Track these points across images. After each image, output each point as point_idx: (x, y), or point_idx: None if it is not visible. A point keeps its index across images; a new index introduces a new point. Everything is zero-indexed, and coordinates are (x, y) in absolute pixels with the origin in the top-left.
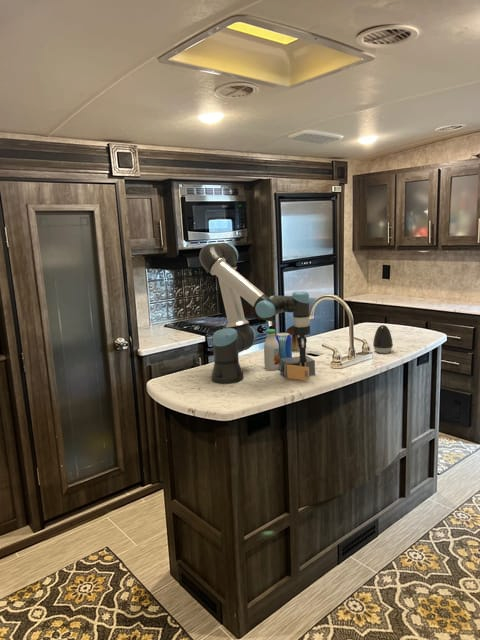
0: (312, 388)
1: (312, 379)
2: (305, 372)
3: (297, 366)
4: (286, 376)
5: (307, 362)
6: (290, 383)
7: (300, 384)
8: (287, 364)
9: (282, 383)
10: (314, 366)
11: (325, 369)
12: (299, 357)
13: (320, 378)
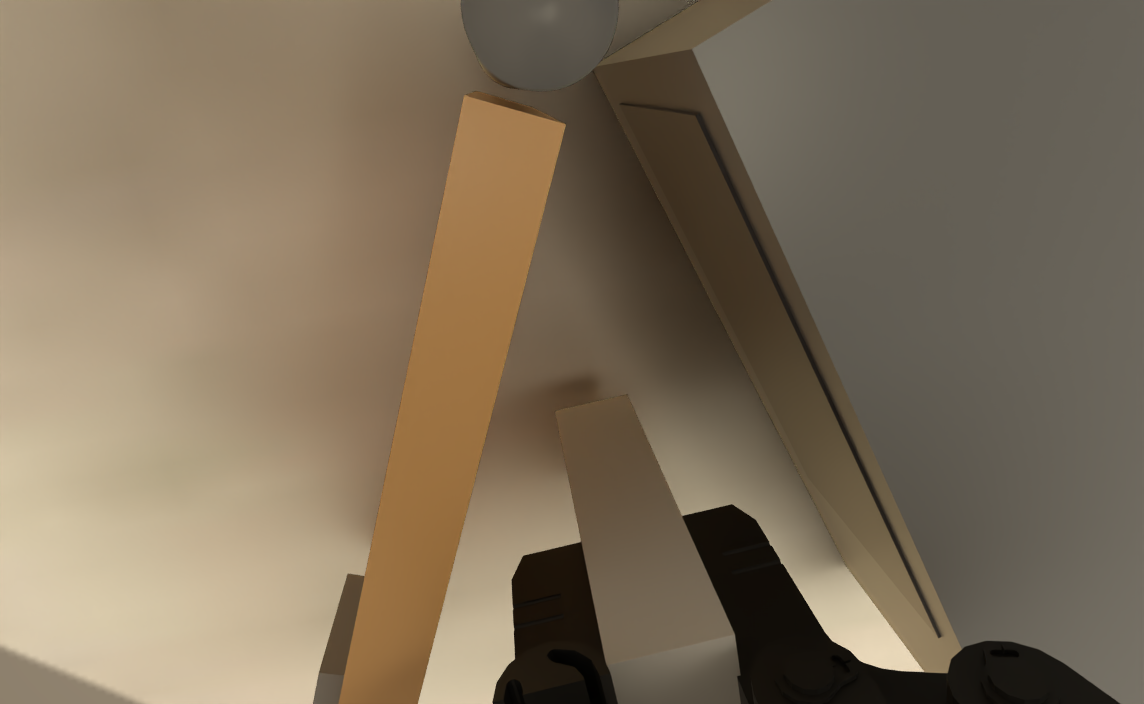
0: (58, 668)
1: None
2: (323, 666)
3: (370, 558)
4: (482, 68)
5: None
6: (219, 222)
7: (218, 439)
8: (699, 83)
9: (154, 17)
10: None
11: None
12: (997, 685)
13: None
